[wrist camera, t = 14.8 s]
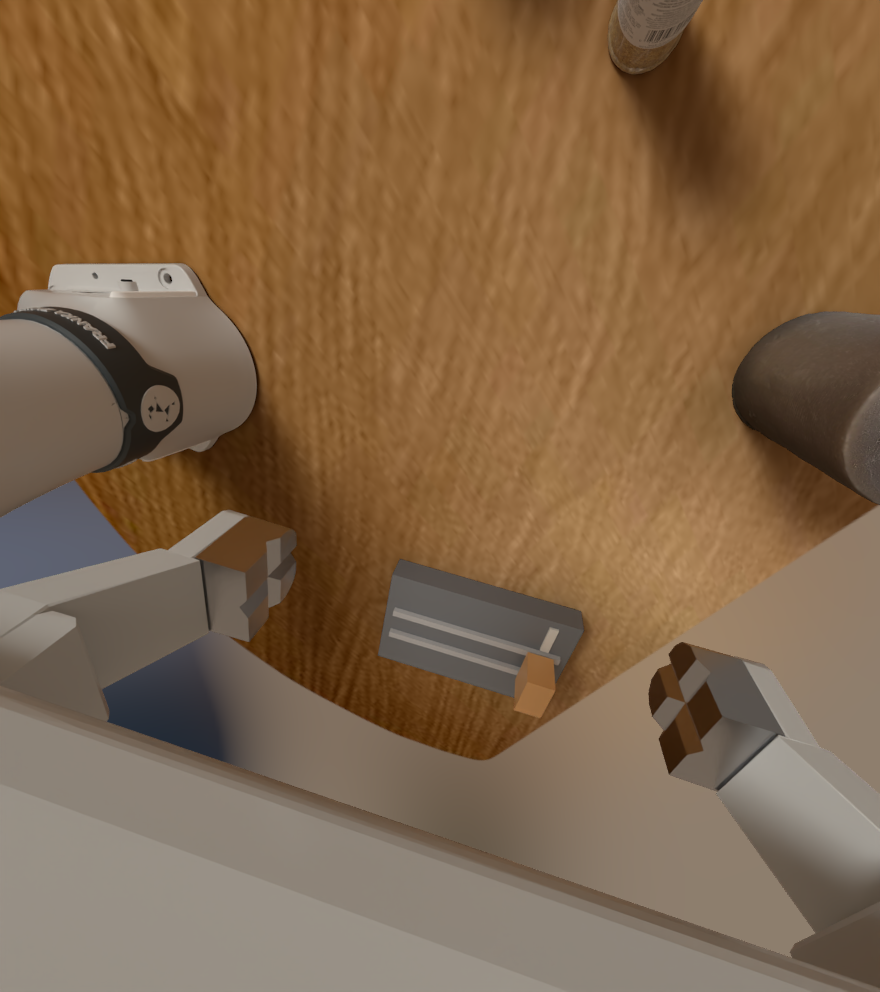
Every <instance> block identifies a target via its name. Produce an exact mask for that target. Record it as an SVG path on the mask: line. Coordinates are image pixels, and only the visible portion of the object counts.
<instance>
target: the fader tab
mask: <svg viewBox="0 0 880 992" xmlns="http://www.w3.org/2000/svg"><path fill="white" fill-rule="evenodd" d="M555 691H556V690H555V674H554V660H553V659H550V658H546V657H543V656H540V655H536V654H533V653H530V652H527V654H526V657H525V659H524V661H523V663H522V665H521V668H520V670H519V672H518V674H517V676H516V679H515V695H514V710H515V711H518V712H521V713H525V714H528V715H531V716H534V717H537V718H541V716H542V715H543V713H544V711H545V709H546V707H547V705H548V704H549V702H550V700H551V698H552V696H553V694H554V693H555Z"/></svg>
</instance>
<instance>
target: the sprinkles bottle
mask: <svg viewBox="0 0 880 992" xmlns="http://www.w3.org/2000/svg"><path fill="white" fill-rule="evenodd" d="M702 1H703V0H618V1H617V3H616V5H615V7H614V10H613V13H612V15H611V18H610V22H609V29H608V48H609V52H610V55H611V59H612V60H613V61H614V63H615V64H616V66H617V67H618V68H620V69H621V70H622V71H624V72H627V73H629V74H642V73H645V72H647V71H651V70H653V69H654V68H656V67H657V66H658V65H660V64H661V63H662V62H663V61H664V60H665V59H666V58H667V57H668V56H669V54H670V53H671V52H672V50H673V49H674V48H675V47H676V45H677V43H678V41H679V39H680V37H681V35H682V33H683V30H684V28H685V27H686V26H687V25H688V23H689V22H690V20H691V19H692V17H693V16H694V14H695V12H696V11H697V9H698V7H699V6H700V4H701V2H702Z"/></svg>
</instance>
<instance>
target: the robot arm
mask: <svg viewBox="0 0 880 992" xmlns="http://www.w3.org/2000/svg"><path fill="white" fill-rule="evenodd" d="M170 276H171V278H172V282H171V280H170ZM256 391H257V381H256V372H255V367H254V363H253V360H252V357H251V354H250V352H249V349H248V347H247V345H246V343H245V341H244V339H243V338H242V336H241V334H240V333H239V331H238V330H237V328H236V327H235V326H234V324H233V323H232V322H231V321H230V319H229V318H228V317H227V316H226V315H225V314H224V313H223V312H222V311H221V310H220V309H219V308H218V307H217V306H216V305H215V304H214V303H213V302H212V301H211V300H210V299H209V297H208V296H207V294H206V292H205V290H204V289H203V287H202V285H201V283H200V281H199V280H198V278H197V276H196V275H195V273H194V272H193V271H192V270H191V269H190V268H189V267H188V266H187V265H185V264H181V263H136V264H60V265H55V266H53V268H52V271H51V274H50V278H49V286H48V290H27V291H25V292H24V293H23V294H22V296H21V297H20V300H19V303H18V309H17V311H14V313H11V314H6V315H3V316H2V317H0V518H1V517H2V516H4V515H6V514H7V513H9V512H11V511H12V510H14V509H16V508H18V507H20V506H22V505H24V504H26V503H28V502H30V501H32V500H34V499H36V498H37V497H40V496H41V495H44V494H45V493H48V492H49V491H51V490H54V489H56V488H58V487H60V486H62V485H64V484H66V483H68V482H71V481H73V480H75V479H77V478H79V477H81V476H84V475H86V474H88V473H90V472H92V473H99V472H105V471H109V470H112V469H114V468H120V467H123V466H125V465H128V464H130V463H133V462H135V461H136V460H137V459H142V460H143V461H154V460H157V459H160V458H162V457H165V456H168V455H171V454H174V453H177V452H180V451H183V450H185V449H188V448H190V449H192V450H194V451H197V452H202V451H205V450H208V449H210V448H211V447H212V446H213V445H214V443H215V442H216V440H217V439H218V437H219V436H221V435H222V434H224V433H226V432H229V431H231V430H234V429H235V428H237V427H239V426H240V425H241V424H242V423H243V422H244V421H245V420H246V419H247V418H248V416H249V415H250V413H251V411H252V409H253V406H254V403H255V399H256ZM296 546H297V541H296V532H295V531H294V530H293V529H291V528H287V527H284V526H281V525H278V524H275V523H272V522H268V521H265V520H262V519H259V518H256V517H252V516H248V515H245V514H242V513H238V512H235V511H232V510H225V511H222V512H220V513H219V514H217V515H216V516H215V517H213V518H212V519H211V520H209V521H208V522H206V523H205V524H204V525H202V526H201V527H199V528H198V529H197V530H195V531H194V532H193V533H191V534H190V535H188V536H187V537H186V538H184V539H183V540H181V541H180V542H179V543H177V544H176V545H174V546H173V547H172V548H170V549H169V550H168V551H167V550H164V549H156V550H152V551H148V552H144V553H141V554H137V555H133V556H129V557H125V558H121V559H117V560H113V561H109V562H105V563H101V564H97V565H93V566H89V567H86V568H82V569H78V570H74V571H70V572H66V573H62V574H58V575H54V576H50V577H46V578H42V579H38V580H34V581H31V582H26V583H22V584H18V585H15V586H11V587H7V588H3V589H0V992H880V794H879V793H878V792H876V791H875V790H874V789H873V788H872V787H870V785H868V784H867V783H866V782H865V781H864V780H863V779H862V778H860V777H859V776H858V775H857V774H856V773H855V772H854V771H852V770H851V769H850V768H849V767H848V766H847V765H846V764H844V763H843V762H842V761H841V760H840V759H839V758H837V757H836V756H835V755H834V754H833V753H832V752H831V751H829V750H826V749H823V748H820V746H819V745H818V743H817V742H816V740H815V739H814V737H813V736H812V734H811V732H810V731H809V729H808V728H807V726H806V724H805V723H804V721H803V720H802V718H801V716H800V715H799V713H798V712H797V710H796V709H795V707H794V705H793V704H792V703H791V701H790V699H789V697H788V696H787V694H786V693H785V691H784V690H783V688H782V686H781V685H780V683H779V682H778V680H777V678H776V677H775V675H774V674H773V672H772V671H771V670H770V669H769V668H768V667H766V666H765V665H764V664H762V663H758V662H754V661H750V660H747V659H743V658H739V657H733V656H730V655H726V654H723V653H719V652H715V651H712V650H709V649H705V648H701V647H698V646H694V645H691V644H687V643H684V642H681V643H679V644H677V645H676V646H675V647H674V648H673V649H672V651H671V652H670V653H669V657H670V661H671V664H669V665H667V666H664V667H662V668H659V669H658V670H657V672H656V673H655V675H654V677H653V678H652V680H651V684H650V689H649V705H650V709H651V713H652V717H653V718H654V719H655V720H656V721H657V723H658V724H659V725H660V726H661V727H662V729H663V732H662V734H661V736H660V738H659V741H660V745H661V748H662V752H663V755H664V759H665V762H666V765H667V769H668V773H669V775H671V776H674V777H677V778H680V779H683V780H686V781H689V782H691V783H694V784H697V785H700V786H703V787H706V788H709V789H711V790H714V791H717V793H716V794H717V796H718V797H719V798H720V800H721V801H722V803H723V804H724V805H725V807H726V808H727V810H728V811H729V812H730V814H731V815H732V817H733V818H734V819H735V821H736V822H737V824H738V825H739V826H740V828H741V829H742V831H743V832H744V833H745V835H746V836H747V837H748V839H749V841H750V842H751V843H752V845H753V846H754V848H755V849H756V850H757V852H758V853H759V855H760V856H761V857H762V859H763V860H764V861H765V863H766V864H767V866H768V867H769V869H770V870H771V871H772V873H773V874H774V876H775V877H776V878H777V880H778V881H779V883H780V884H781V885H782V887H783V888H784V890H785V891H786V892H787V894H788V895H789V897H790V898H791V899H792V901H793V902H794V904H795V905H796V906H797V908H798V909H799V911H800V912H801V913H802V915H803V916H804V917H805V919H806V920H807V922H808V923H809V925H810V926H811V927H812V929H813V930H814V932H815V934H814V935H811V936H810V937H808V938H806V939H803V940H801V941H799V942H798V943H795V944H794V946H793V948H792V949H791V951H790V953H791V956H792V958H791V957H788V956H785V955H782V954H779V953H776V952H774V951H771V950H767V949H765V948H762V947H759V946H756V945H753V944H750V943H747V942H745V941H742V940H739V939H736V938H733V937H730V936H727V935H724V934H721V933H718V932H716V931H713V930H710V929H706V928H704V927H701V926H698V925H695V924H692V923H689V922H687V921H684V920H681V919H678V918H675V917H672V916H669V915H666V914H663V913H660V912H658V911H655V910H652V909H649V908H646V907H643V906H640V905H637V904H634V903H631V902H629V901H625V900H623V899H620V898H617V897H614V896H611V895H608V894H605V893H603V892H599V891H597V890H594V889H591V888H588V887H585V886H582V885H579V884H576V883H574V882H571V881H568V880H565V879H562V878H559V877H556V876H553V875H550V874H547V873H545V872H542V871H539V870H536V869H533V868H530V867H527V866H524V865H521V864H518V863H515V862H513V861H509V860H507V859H504V858H501V857H498V856H495V855H492V854H489V853H487V852H483V851H481V850H478V849H475V848H472V847H469V846H466V845H463V844H460V843H457V842H455V841H452V840H449V839H446V838H443V837H440V836H437V835H434V834H431V833H428V832H425V831H423V830H420V829H417V828H413V827H411V826H408V825H405V824H402V823H399V822H396V821H393V820H390V819H388V818H385V817H382V816H379V815H376V814H373V813H370V812H367V811H364V810H361V809H359V808H356V807H353V806H350V805H347V804H344V803H341V802H338V801H335V800H332V799H329V798H327V797H323V796H321V795H318V794H315V793H312V792H309V791H306V790H303V789H300V788H297V787H294V786H292V785H289V784H286V783H283V782H280V781H277V780H274V779H271V778H268V777H266V776H262V775H260V774H257V773H254V772H251V771H248V770H245V769H242V768H239V767H236V766H233V765H231V764H228V763H225V762H222V761H219V760H216V759H213V758H210V757H207V756H204V755H201V754H199V753H196V752H193V751H190V750H187V749H184V748H181V747H178V746H175V745H172V744H170V743H167V742H163V741H161V740H158V739H155V738H152V737H149V736H146V735H143V734H140V733H138V732H134V731H132V730H129V729H126V728H123V727H120V726H117V725H114V724H111V723H108V722H106V721H107V720H108V718H109V709H108V706H107V703H106V700H105V697H104V695H103V692H102V689H103V688H105V687H107V686H108V685H111V684H112V683H114V682H116V681H118V680H120V679H122V678H124V677H126V676H128V675H130V674H131V673H134V672H135V671H137V670H139V669H141V668H143V667H145V666H147V665H149V664H151V663H153V662H155V661H156V660H158V659H160V658H162V657H164V656H166V655H168V654H170V653H172V652H174V651H176V650H178V649H179V648H181V647H183V646H185V645H187V644H189V643H191V642H193V641H195V640H197V639H199V638H200V637H202V636H204V635H206V634H208V633H209V631H213V632H216V633H220V634H223V635H226V636H230V637H233V638H237V639H240V640H244V641H247V642H250V640H251V639H252V638H253V637H254V635H255V634H256V633H257V632H258V630H259V629H260V628H261V627H262V625H263V624H264V623H265V622H266V620H267V619H268V608H269V607H272V606H274V605H276V604H279V603H281V601H282V600H283V599H284V597H285V596H286V595H287V593H288V592H289V589H290V587H291V585H292V583H293V581H294V577H295V572H296V561H295V559H294V557H293V556H292V554H291V553H290V552H291V551H292V550H293V549H294V548H295V547H296Z"/></svg>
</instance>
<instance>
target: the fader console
mask: <svg viewBox="0 0 880 992" xmlns="http://www.w3.org/2000/svg"><path fill="white" fill-rule="evenodd" d="M583 632H584V627H583V620H582V614H581V611H578V610H575V609H571V608H568V607H564V606H561V605H557V604H554V603H551V602H547V601H544V600H540V599H537V598H533V597H530V596H526V595H523V594H519V593H516V592H513V591H509V590H506V589H502V588H499V587H495V586H492V585H488V584H485V583H481V582H478V581H475V580H471V579H468V578H464V577H461V576H457V575H454V574H450V573H447V572H443V571H440V570H437V569H433V568H430V567H426V566H423V565H419V564H416V563H412V562H409V561H405V560H402V559H400V560H399V562H398V564H397V566H396V568H395V570H394V572H393V575H392V580H391V586H390V591H389V597H388V602H387V608H386V614H385V619H384V625H383V630H382V636H381V641H380V647H379V652H378V656H381V657H385V658H388V659H391V660H394V661H397V662H401V663H404V664H407V665H410V666H414V667H417V668H420V669H423V670H426V671H430V672H433V673H436V674H439V675H442V676H446V677H449V678H452V679H455V680H459V681H462V682H465V683H468V684H471V685H475V686H478V687H481V688H484V689H488V690H491V691H494V692H497V693H500V694H504V695H507V696H510V697H513V698H514V695H515V679H516V676H517V674H518V672H519V670H520V668H521V665H522V663H523V661H524V659H525V657H526V654H527V652H530V653H533V654H536V655H540V656H543V657H546V658H550V659H553V660H554V674H555V684H556V682H557V680H558V678H559V677H560V675H561V673H562V671H563V669H564V667H565V665H566V663H567V662H568V660H569V658H570V656H571V654H572V652H573V650H574V649H575V647H576V645H577V643H578V641H579V639H580V637H581V636H582V634H583Z"/></svg>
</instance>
